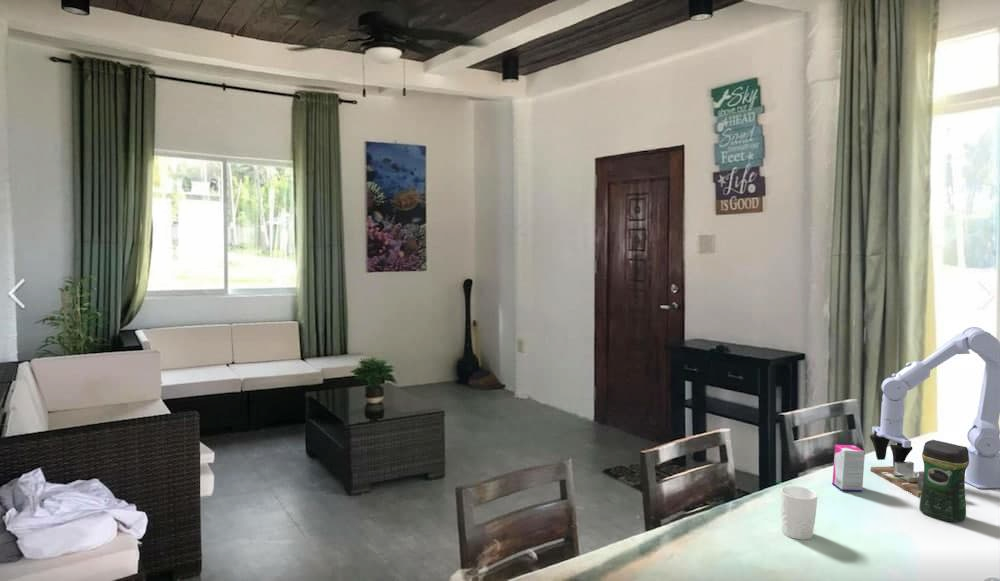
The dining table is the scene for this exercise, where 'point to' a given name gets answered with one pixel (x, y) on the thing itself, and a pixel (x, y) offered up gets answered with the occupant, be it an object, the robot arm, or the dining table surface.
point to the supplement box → (848, 468)
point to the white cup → (798, 512)
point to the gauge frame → (900, 479)
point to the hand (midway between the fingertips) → (889, 463)
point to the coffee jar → (944, 480)
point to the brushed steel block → (905, 471)
